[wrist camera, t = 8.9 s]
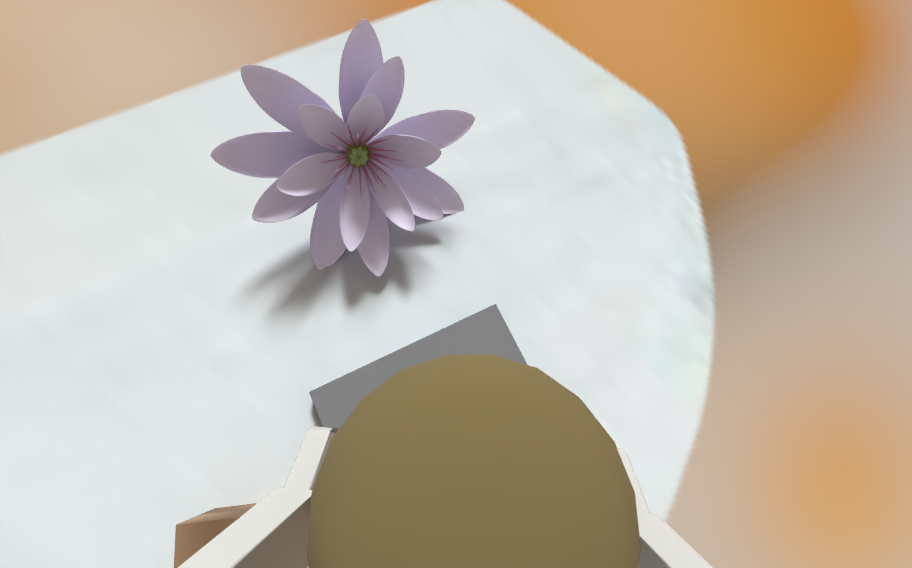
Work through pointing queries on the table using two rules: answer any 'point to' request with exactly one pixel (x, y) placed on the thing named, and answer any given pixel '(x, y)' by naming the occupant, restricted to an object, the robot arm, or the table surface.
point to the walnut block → (204, 530)
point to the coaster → (416, 362)
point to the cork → (472, 475)
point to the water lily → (347, 155)
